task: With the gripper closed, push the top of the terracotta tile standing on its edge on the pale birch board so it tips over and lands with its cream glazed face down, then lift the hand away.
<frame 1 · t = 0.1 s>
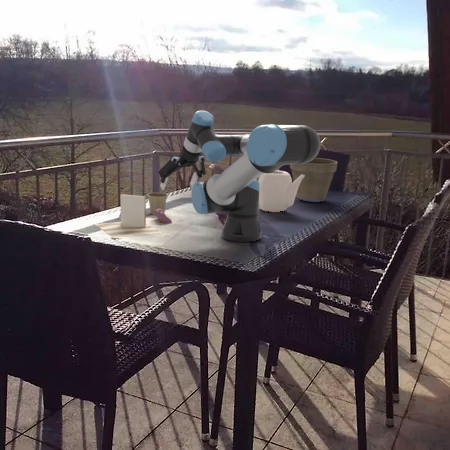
hand: (177, 186, 208), 15 cm above the table, tool tilted 35°, fingers open, 13 cm apart
video game controller: (162, 223, 213), on the table
flower pot: (157, 214, 229), on the table
watering can: (275, 211, 245), on the table
tile: (133, 225, 203), point 1 cm above the table, touching board
plant pot: (310, 200, 275), on the table
board: (127, 230, 198), on the table
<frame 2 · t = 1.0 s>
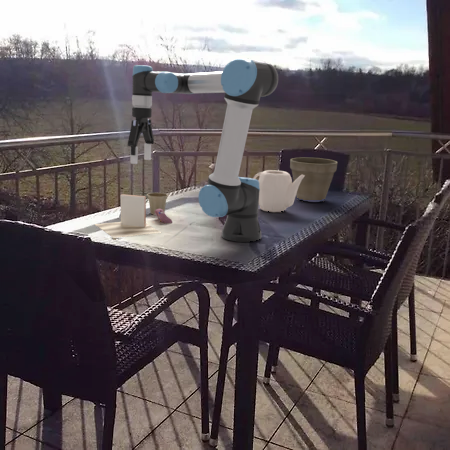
hand: (140, 161, 203), 25 cm above the table, tool pointing down, fingers open, 13 cm apart
nothing on the table moved.
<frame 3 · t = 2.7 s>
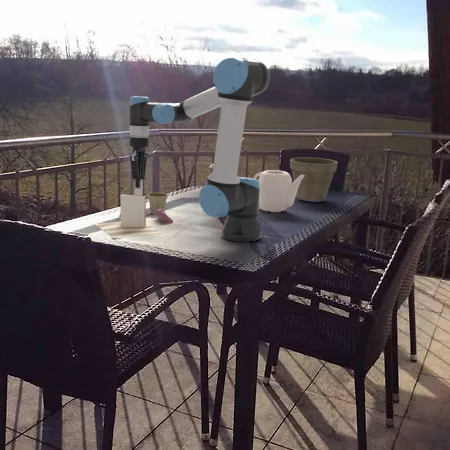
hand: (138, 195, 206), 12 cm above the table, tool pointing down, fingers closed
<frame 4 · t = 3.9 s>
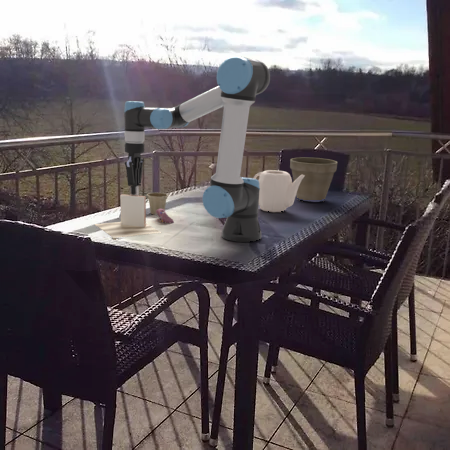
hand: (134, 202, 202), 10 cm above the table, tool pointing down, fingers closed
tile: (133, 225, 203), point 1 cm above the table, touching board, gripper
everything else where it was.
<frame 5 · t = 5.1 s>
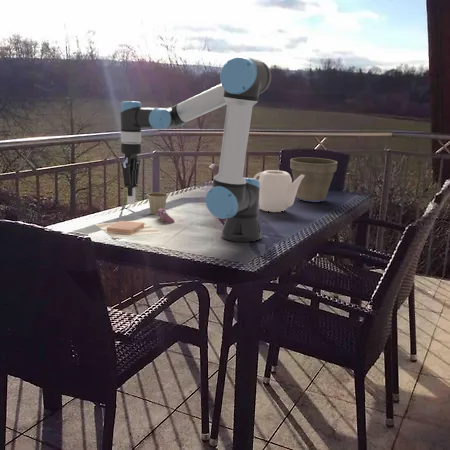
hand: (131, 203, 199), 10 cm above the table, tool pointing down, fingers closed
tile: (132, 223, 202), point 2 cm above the table, tilted 90°, touching board
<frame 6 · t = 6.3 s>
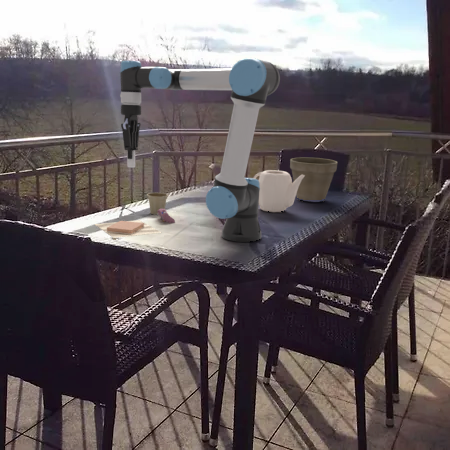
hand: (131, 167, 196), 24 cm above the table, tool pointing down, fingers closed
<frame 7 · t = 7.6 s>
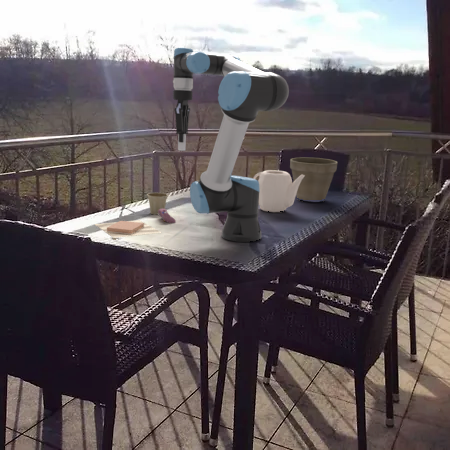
hand: (181, 150, 205), 30 cm above the table, tool pointing down, fingers closed
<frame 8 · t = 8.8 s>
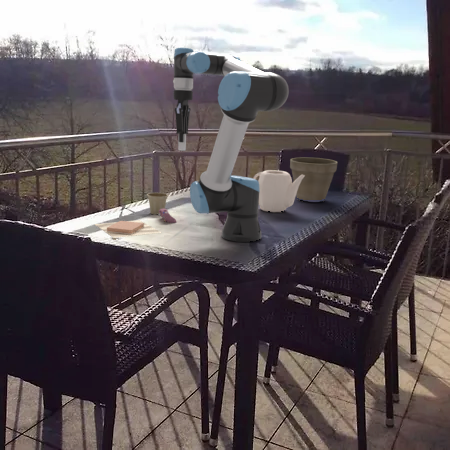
hand: (182, 150, 205), 30 cm above the table, tool pointing down, fingers closed
at the end: tile tilted 90°; tile inside the target area on the board (4.5 cm from its centre), point 1.7 cm above the board's base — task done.
